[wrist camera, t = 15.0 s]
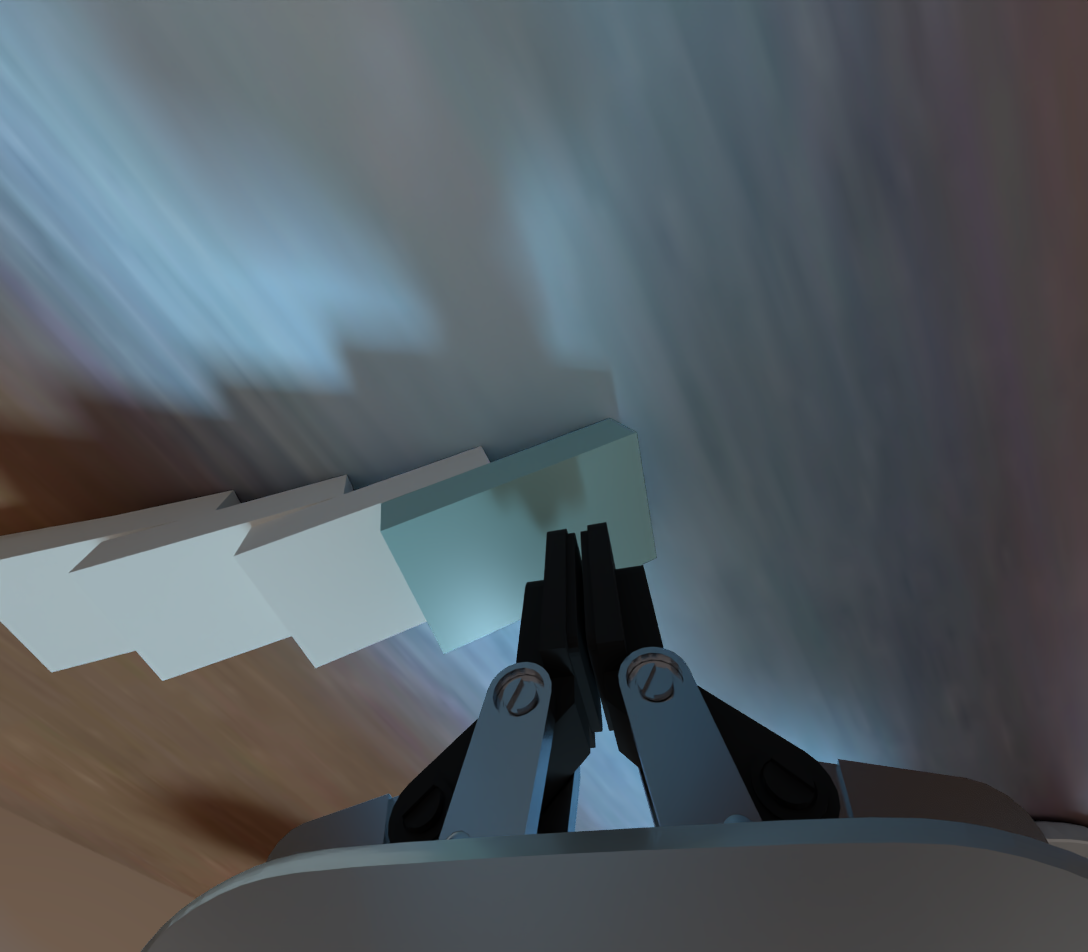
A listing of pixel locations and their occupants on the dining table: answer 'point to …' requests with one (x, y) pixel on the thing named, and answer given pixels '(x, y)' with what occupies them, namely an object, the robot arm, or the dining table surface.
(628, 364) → the dining table surface
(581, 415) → the dining table surface
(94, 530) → the domino
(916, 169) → the dining table surface
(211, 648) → the domino
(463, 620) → the domino
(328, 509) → the domino
